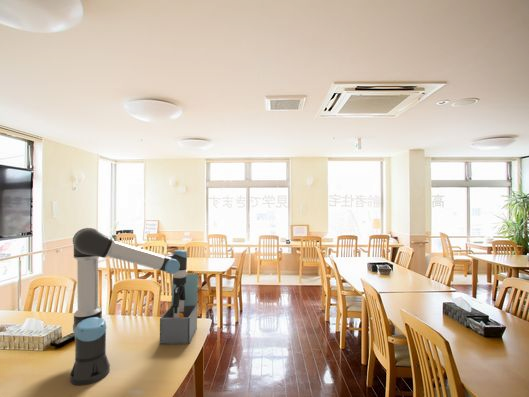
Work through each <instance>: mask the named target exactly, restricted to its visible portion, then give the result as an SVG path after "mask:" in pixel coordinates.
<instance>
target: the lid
mask: <svg viewBox="0 0 529 397" xmlns="http://www.w3.org/2000/svg"><path fill="white" fill-rule="evenodd" d="M171 282H172V285H171V303H170V304H171V305H170V306H173V298H174V289H175V287H176V285H175V284H173V281H171ZM198 290H199V273H186V283H185V298H186V300H184V306H191V305H197V306H198V294H199V292H198ZM179 301H180V300H179Z"/></svg>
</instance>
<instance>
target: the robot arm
mask: <svg viewBox="0 0 529 397" xmlns="http://www.w3.org/2000/svg"><path fill="white" fill-rule="evenodd" d="M72 244H73V258H74V259H75V260H76V262H77V264H76V265H77V275H76V276H77V310H76V311H75V312H74V313H73V324H72V331H73V332H72V333H73V336H74V341H75V342H74V343H75V346H74V347H75V350H74V351H75V353H74V354H75V355H74V356H75V358H74V360H75V361H74V363H73V366H72V369H71V371H70V376H69V382H70V384H71V385H74V386H86V385H89V384H93V383H96V382H98V381H100V380H102V379H104V378H105V377H106V376H108V374H109V373H110V370H111V368H110V366H111V364H110V361H109V359H108V357H107V353H106V352H107V351H106V350H107V349H106V348H107V347H106V346H107V344H106V343H107V342H106V341H107V337H106V336H107V324H106V320H105V319H104V318H103V316H102V314H103V313H102V312H103V311H102V307H101V306H99V258H103V259H105V258H113V259H116V260H120V261H123V262H127V263H131V264H136V265H139V266H144V267H147V268H150V269H153V270H158V271H162V272H165V273H167V274H170V275H172V282H173V284H175V285H176V287H175V289H174V298H173V306H172V307H174V318H179V312H184V300H186V298H185V283H186V274H188V270H187V268H188V266H187V265H188V261H187V260H188V252H187V250H186V249H175V250H174V251H173V253H171V254H160V253H155V252H153V251H149V250H146V249H143V248H139V247H135V246H134V245H129V244H127V243H126V244H125V243H124V242H123V243H122V242H120V241H116V240H115V239H114V237H111V236H107V235H105V234H103V233H101V232H100V231H98V230H97V229H96V228H91V227H86V228H85V227H84V228H82V229H80V230H78V231H77V232H76V233H75V234H74V235H73V237H72ZM179 300H180V301H179ZM178 306H179V307H178Z"/></svg>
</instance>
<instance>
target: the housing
mask: <svg viewBox="0 0 529 397" xmlns="http://www.w3.org/2000/svg"><path fill="white" fill-rule="evenodd" d="M178 307H179V306H178ZM179 313H182V314H183V315H184V317H185V318H172V317H173V316H174V307H172V306H171V305H170V306H169V308H168V309H167V310H166V311H165V312H164V314H163V315H162V316H161V317H160V318H159V345H160V346H161V345H190V343H191V341H192V340H193V337H194V335H195V334H196V331H197V329H198V304H197V305H191V306H184V312H179Z"/></svg>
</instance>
